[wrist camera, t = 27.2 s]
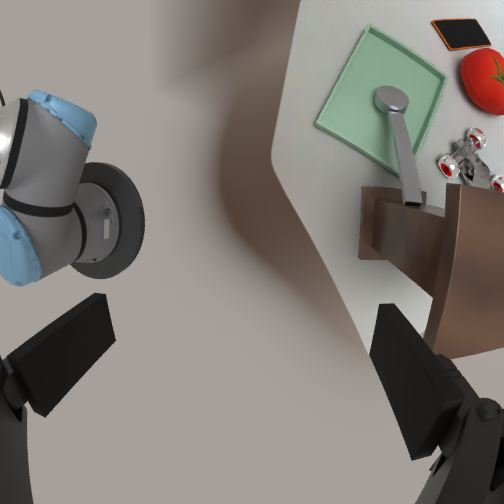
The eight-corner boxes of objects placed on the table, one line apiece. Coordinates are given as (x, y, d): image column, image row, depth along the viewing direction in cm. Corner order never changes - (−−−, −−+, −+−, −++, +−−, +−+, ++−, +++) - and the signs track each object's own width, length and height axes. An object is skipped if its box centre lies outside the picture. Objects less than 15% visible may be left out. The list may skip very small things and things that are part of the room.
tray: (401, 179, 42) (407, 179, 39) (313, 125, 41) (315, 122, 39) (442, 80, 36) (448, 77, 33) (365, 29, 35) (368, 23, 33)
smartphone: (491, 46, 30) (492, 45, 29) (448, 51, 33) (450, 50, 33) (474, 19, 29) (475, 17, 28) (429, 21, 32) (431, 19, 31)
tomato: (442, 66, 35) (470, 49, 25) (474, 52, 32) (501, 38, 22) (477, 128, 37) (510, 122, 27) (506, 108, 34) (536, 102, 24)
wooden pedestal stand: (356, 179, 43) (460, 184, 15) (428, 186, 41) (554, 204, 13) (352, 263, 46) (427, 363, 18) (421, 263, 45) (525, 341, 17)
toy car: (499, 190, 39) (515, 192, 34) (469, 225, 42) (484, 230, 37) (466, 126, 37) (481, 123, 32) (432, 159, 40) (447, 158, 35)
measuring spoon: (371, 91, 38) (373, 83, 37) (402, 96, 37) (404, 88, 35) (392, 204, 32) (396, 196, 30) (429, 208, 31) (435, 201, 29)
